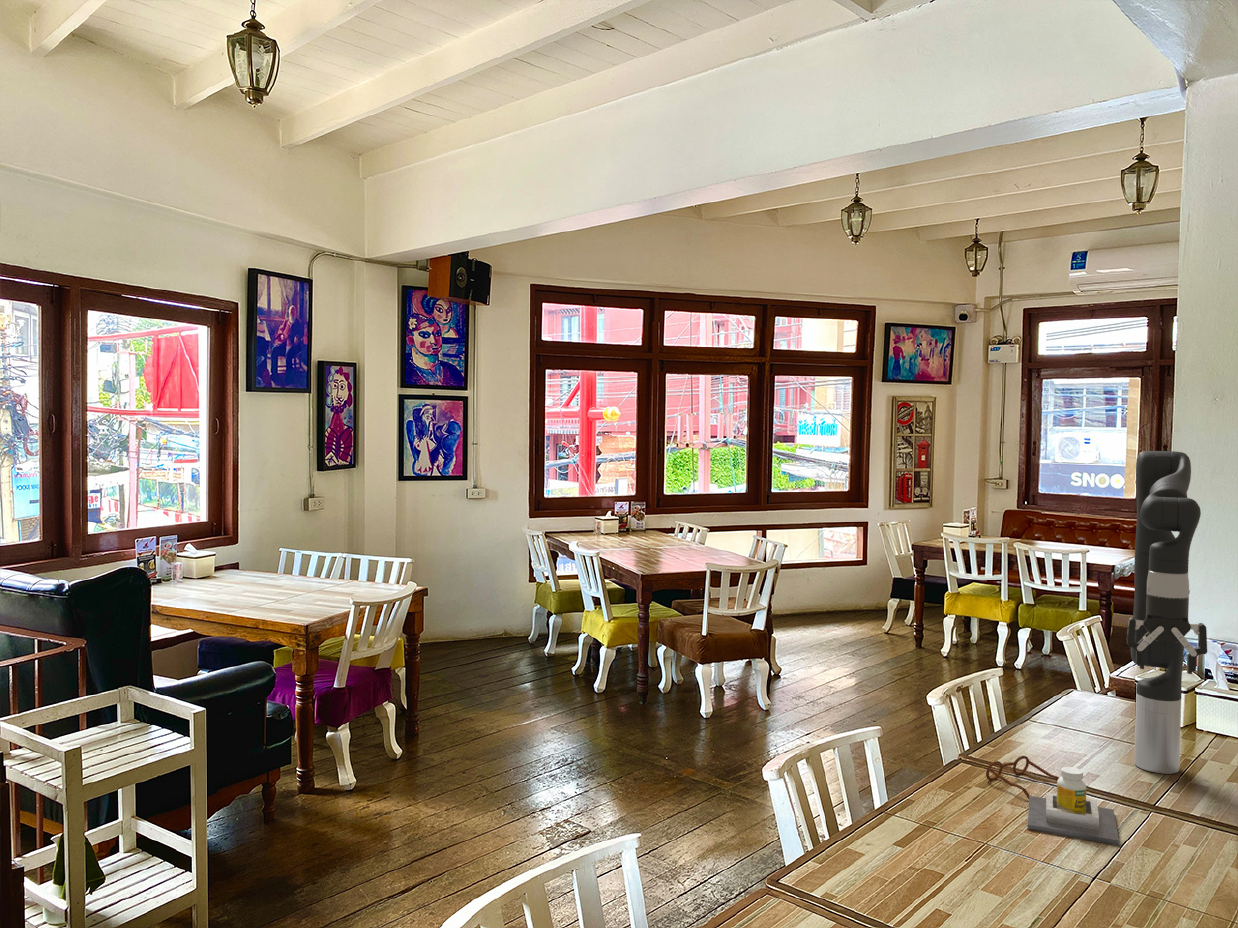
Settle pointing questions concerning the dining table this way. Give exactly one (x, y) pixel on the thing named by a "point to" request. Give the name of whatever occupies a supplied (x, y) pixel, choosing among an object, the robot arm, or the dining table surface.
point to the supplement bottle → (1071, 790)
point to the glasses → (998, 775)
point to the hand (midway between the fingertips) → (1165, 670)
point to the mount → (1072, 820)
